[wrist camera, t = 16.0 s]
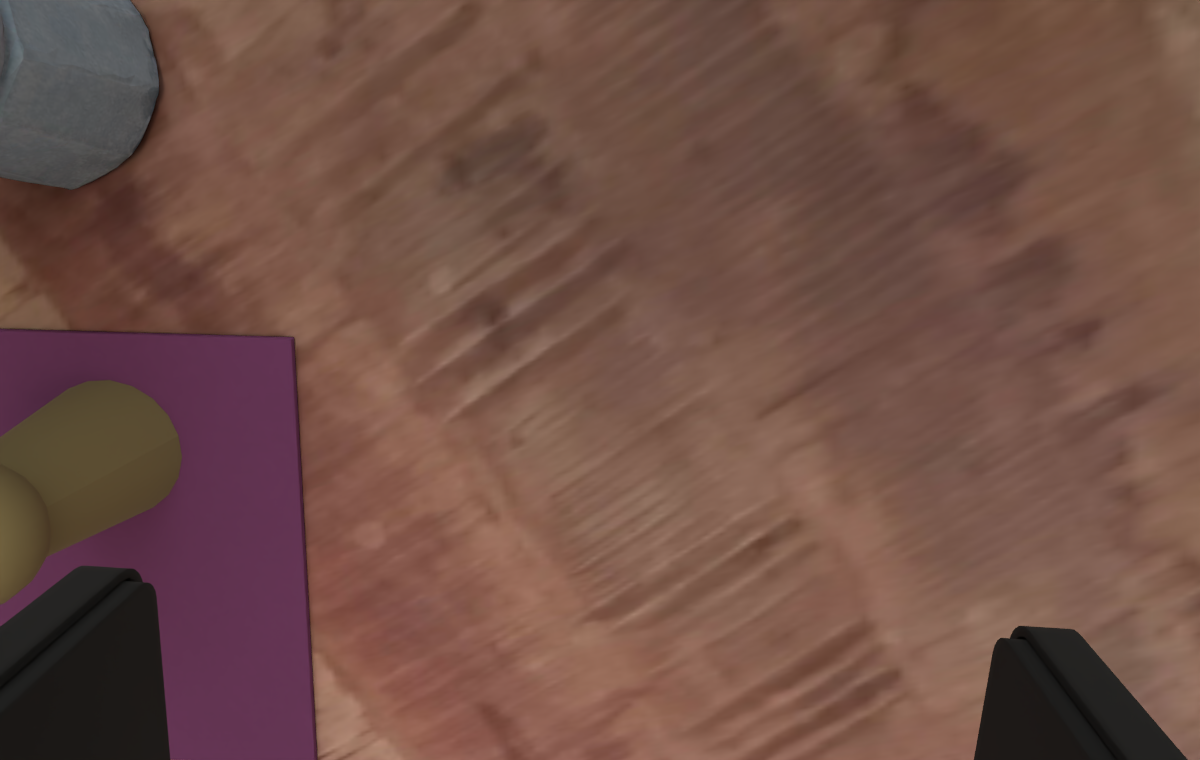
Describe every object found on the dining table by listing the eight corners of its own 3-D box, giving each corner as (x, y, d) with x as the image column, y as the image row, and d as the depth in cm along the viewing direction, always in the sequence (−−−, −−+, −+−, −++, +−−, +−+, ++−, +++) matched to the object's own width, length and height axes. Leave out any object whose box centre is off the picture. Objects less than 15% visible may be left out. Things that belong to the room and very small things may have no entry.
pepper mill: (42, 507, 41) (-167, 635, 30) (37, 372, 39) (-184, 455, 28) (182, 523, 41) (22, 656, 30) (182, 388, 39) (14, 477, 28)
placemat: (-87, 326, 39) (-94, 327, 39) (294, 336, 39) (290, 338, 39) (-22, 746, 44) (-28, 752, 44) (317, 760, 44) (314, 765, 43)
